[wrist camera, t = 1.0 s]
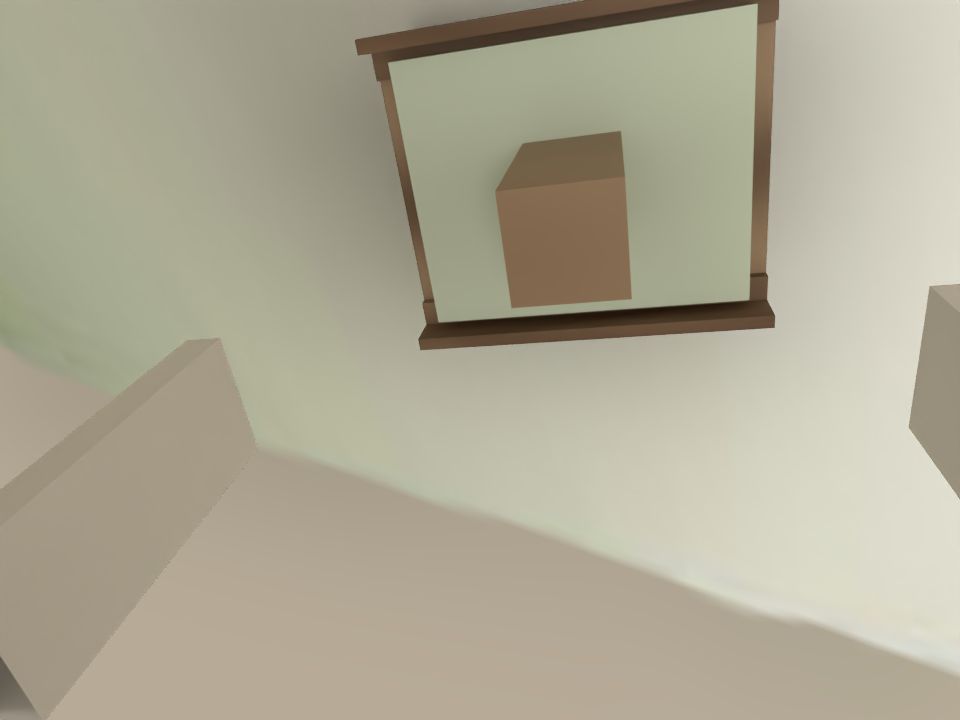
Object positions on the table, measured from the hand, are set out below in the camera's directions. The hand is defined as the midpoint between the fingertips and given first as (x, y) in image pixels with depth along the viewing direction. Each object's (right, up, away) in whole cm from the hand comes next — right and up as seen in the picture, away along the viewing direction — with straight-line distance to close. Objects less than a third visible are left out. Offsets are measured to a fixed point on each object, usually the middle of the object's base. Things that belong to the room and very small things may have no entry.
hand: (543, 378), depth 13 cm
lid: (+2, +7, +13) cm, 15 cm away
